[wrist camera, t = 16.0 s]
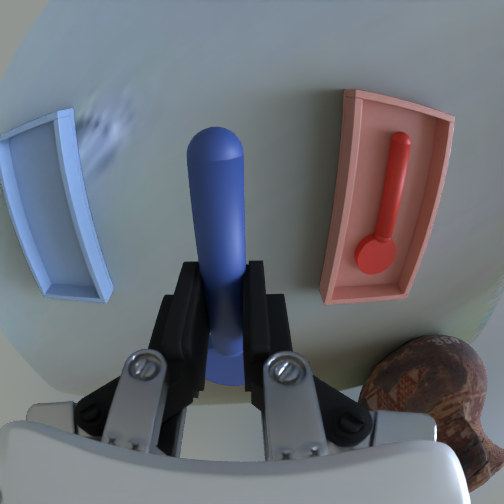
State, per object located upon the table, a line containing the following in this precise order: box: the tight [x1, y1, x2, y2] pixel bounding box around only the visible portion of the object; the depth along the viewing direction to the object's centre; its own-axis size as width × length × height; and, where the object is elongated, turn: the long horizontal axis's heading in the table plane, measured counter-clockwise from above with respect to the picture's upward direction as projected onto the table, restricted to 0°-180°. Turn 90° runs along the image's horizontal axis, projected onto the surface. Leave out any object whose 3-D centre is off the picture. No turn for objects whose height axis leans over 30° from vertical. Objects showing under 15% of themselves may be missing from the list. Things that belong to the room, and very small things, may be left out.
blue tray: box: [0, 108, 114, 303], centre depth 19 cm, size 18×9×2 cm, turn 0°
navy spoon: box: [187, 127, 246, 386], centre depth 10 cm, size 13×4×2 cm, turn 0°
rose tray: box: [319, 89, 455, 305], centre depth 20 cm, size 18×9×2 cm, turn 0°
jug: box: [358, 335, 504, 493], centre depth 25 cm, size 22×21×25 cm
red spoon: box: [354, 132, 411, 275], centre depth 20 cm, size 13×4×2 cm, turn 0°
